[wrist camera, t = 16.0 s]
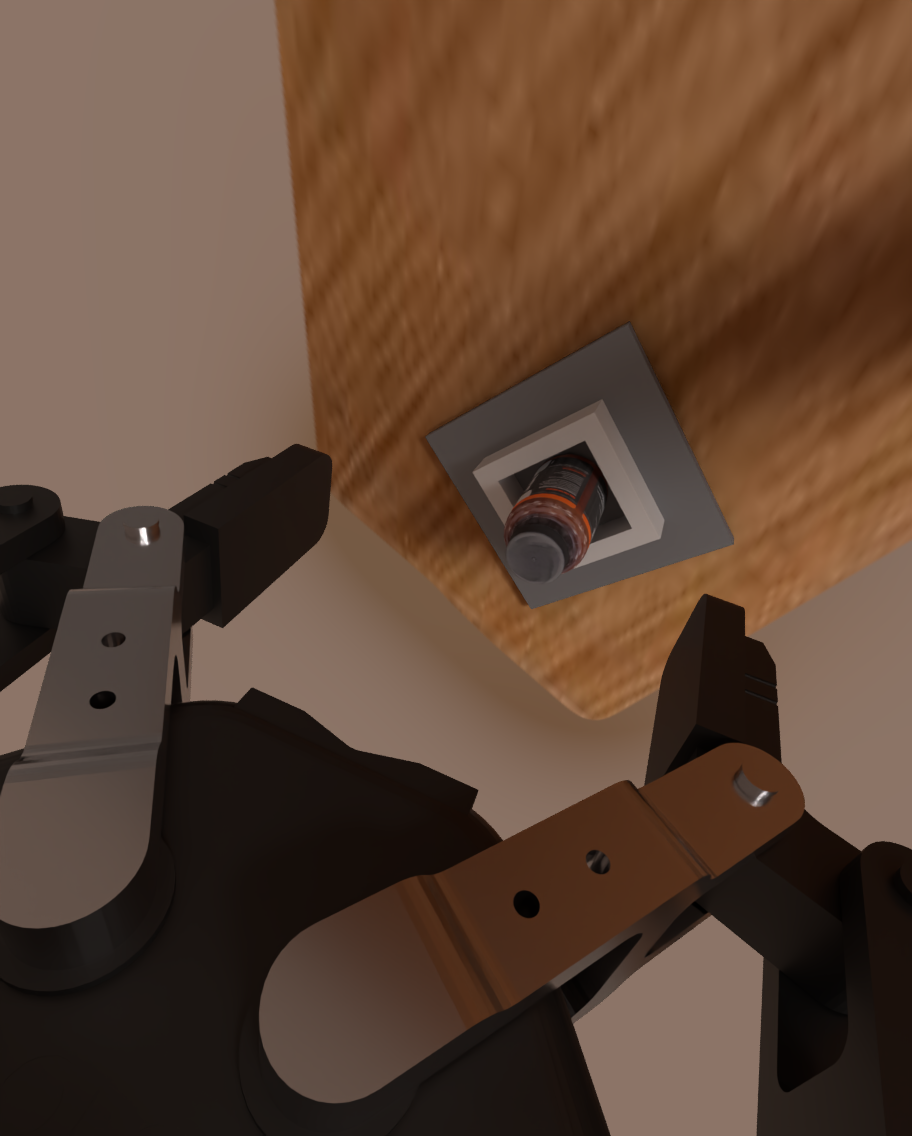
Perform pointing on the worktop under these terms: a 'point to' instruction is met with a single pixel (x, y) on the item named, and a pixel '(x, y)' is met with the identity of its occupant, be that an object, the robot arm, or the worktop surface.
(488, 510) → the collar plate
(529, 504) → the supplement bottle
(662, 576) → the worktop surface
